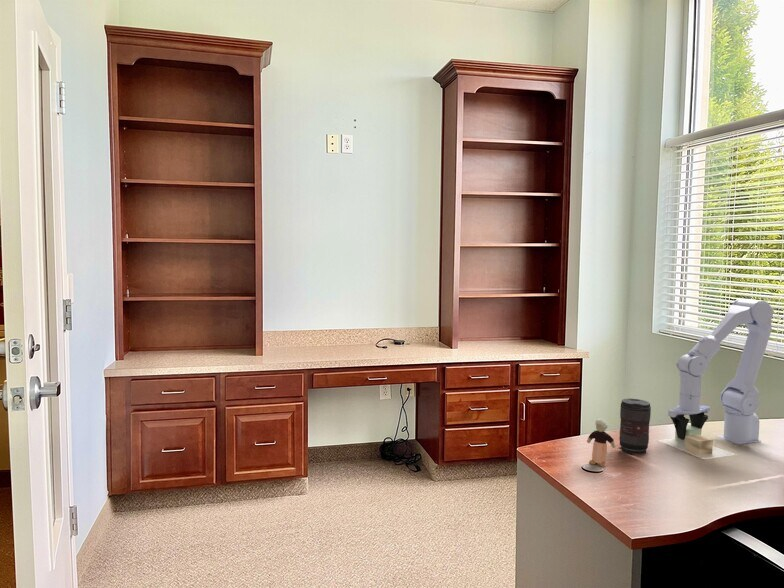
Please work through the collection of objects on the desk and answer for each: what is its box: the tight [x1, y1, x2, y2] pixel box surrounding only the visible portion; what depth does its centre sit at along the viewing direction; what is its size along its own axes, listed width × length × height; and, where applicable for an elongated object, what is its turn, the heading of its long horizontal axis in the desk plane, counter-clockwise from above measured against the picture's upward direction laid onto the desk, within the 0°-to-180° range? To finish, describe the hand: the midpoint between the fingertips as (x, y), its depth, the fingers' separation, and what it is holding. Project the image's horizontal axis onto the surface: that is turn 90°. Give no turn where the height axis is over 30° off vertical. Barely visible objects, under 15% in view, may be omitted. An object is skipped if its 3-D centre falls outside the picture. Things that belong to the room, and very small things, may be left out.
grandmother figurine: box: [586, 418, 617, 467], centre depth 157 cm, size 8×4×13 cm, turn 62°
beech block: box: [685, 434, 714, 455], centre depth 166 cm, size 5×5×4 cm
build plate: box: [657, 437, 736, 461], centre depth 170 cm, size 12×17×1 cm
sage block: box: [674, 424, 703, 442], centre depth 176 cm, size 5×5×4 cm
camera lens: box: [619, 398, 652, 456], centre depth 167 cm, size 8×8×15 cm
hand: (688, 437), depth 176 cm, fingers closed on sage block, 5 cm apart
